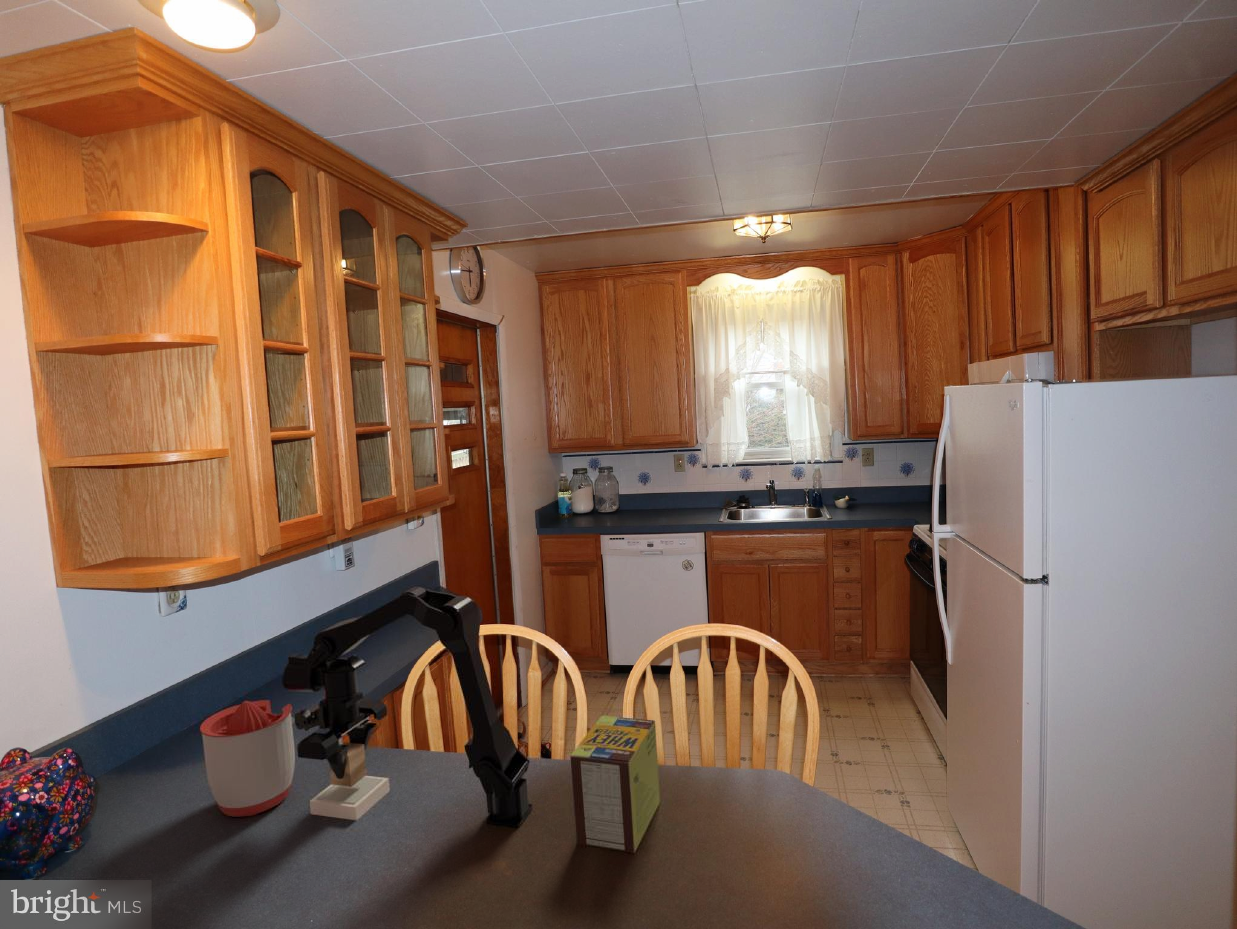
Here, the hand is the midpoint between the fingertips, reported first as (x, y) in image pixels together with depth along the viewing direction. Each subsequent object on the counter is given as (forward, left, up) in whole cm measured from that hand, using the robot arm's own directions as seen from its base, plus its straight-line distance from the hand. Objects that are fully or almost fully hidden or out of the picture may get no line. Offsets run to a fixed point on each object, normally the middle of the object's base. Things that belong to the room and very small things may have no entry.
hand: (348, 771), depth 134 cm
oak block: (0, 0, -2) cm, 2 cm away
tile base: (0, 0, -6) cm, 6 cm away
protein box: (-52, -4, -6) cm, 52 cm away
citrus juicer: (+19, +3, -6) cm, 20 cm away
